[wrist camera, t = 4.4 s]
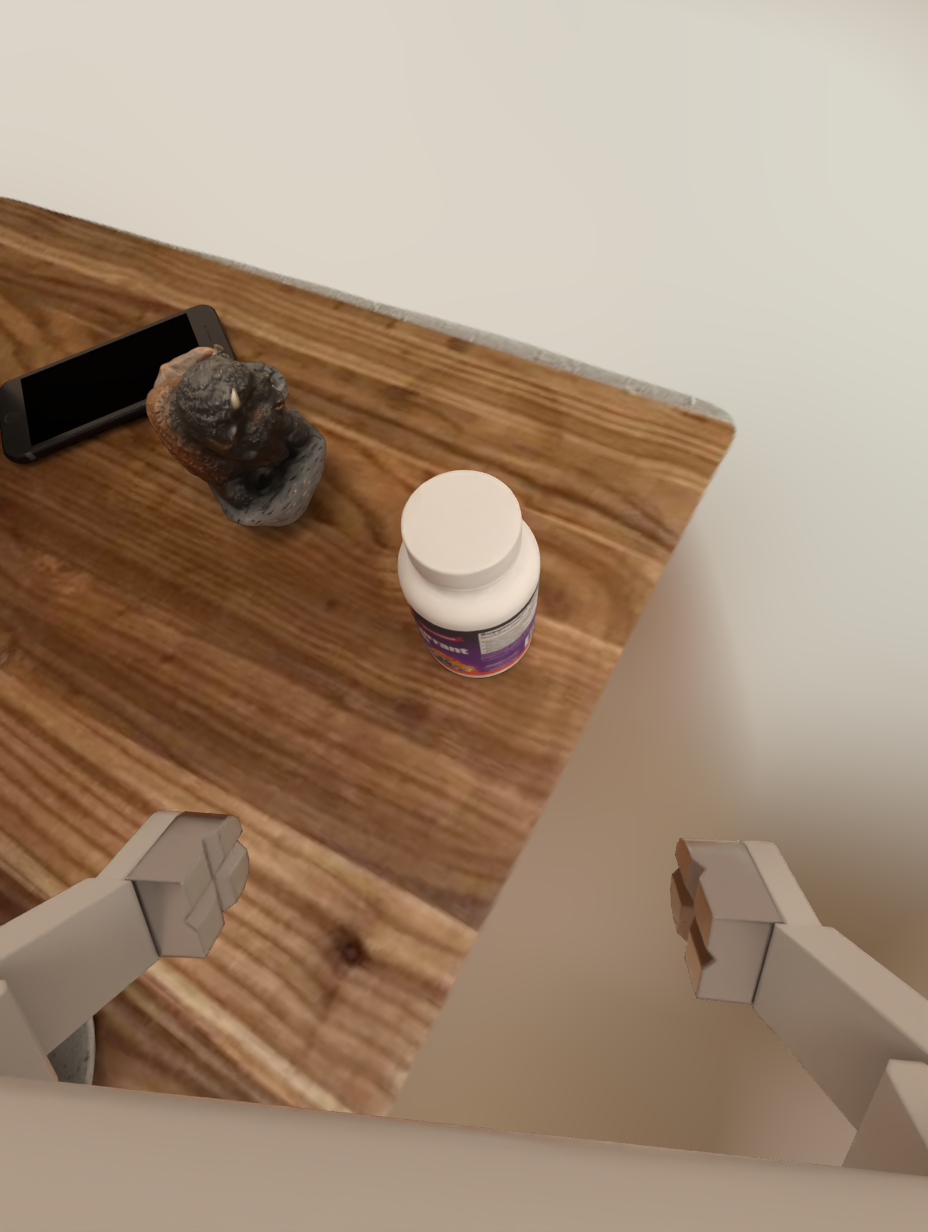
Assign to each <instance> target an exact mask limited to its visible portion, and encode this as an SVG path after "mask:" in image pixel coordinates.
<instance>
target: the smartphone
mask: <svg viewBox="0 0 928 1232" xmlns="http://www.w3.org/2000/svg"><path fill="white" fill-rule="evenodd" d="M214 344H217V345H220V346H222V347H223V348H224V351H223V352H222V353H225V354H228V355H229V356H230V357H231V359H233V360H235V361H237V360H236V357H235V354H234V352H233V350H232V347H231V345H230V343H229V340H228V338H227V336H226V333H225V331H224V329H223V327H222V324H221V322H220V320H219V317H218V315H217V313H216V311H215V310H214V309H213V308H212V307H211V306H209V305H197V306H195V307H192V308H189V309H187V310H184V311H182V312H179V313H177V314H174V315H172V316H169V317H167V318H164V319H162V320H159V321H157V322H154V323H152V324H149V325H147V326H144V327H142V328H139V329H137V330H134V331H132V332H129V333H127V334H124V335H122V336H119V337H117V338H114V339H112V340H109V341H107V342H104V343H102V344H99V345H97V346H94V347H92V348H89V349H87V350H84V351H82V352H79V353H77V354H74V355H72V356H69V357H67V358H64V359H62V360H59V361H57V362H54V363H52V364H49V365H47V366H44V367H42V368H39V369H37V370H34V371H32V372H29V373H27V374H24V375H22V376H19V377H17V378H15V379H12V380H10V381H8V382H6V383H5V384H3V385H2V386H1V388H0V430H1V437H2V445H3V450H4V454H5V456H6V457H7V458H8V459H9V460H11V461H13V462H15V463H26V462H29V461H32V460H34V459H37V458H39V457H42V456H44V455H47V454H49V453H51V452H54V451H56V450H59V449H61V448H63V447H66V446H68V445H71V444H73V443H76V442H78V441H80V440H83V439H85V438H88V437H90V436H92V435H95V434H97V433H100V432H102V431H104V430H107V429H109V428H112V427H114V426H116V425H119V424H121V423H124V422H126V421H128V420H131V419H133V418H136V417H138V416H140V415H143V414H145V413H147V411H146V399H147V395H148V393H149V392H150V391H151V390H152V389H154V384H155V381H156V379H157V377H158V374H159V371H160V367H161V366H162V365H163V364H166V363H169V362H170V361H172V360H173V359H174V358H176V357H178V356H181V355H183V354H186V353H188V352H190V351H191V350H193V349H195V348H197V347H209V348H213V349H214V346H213V345H214Z"/></svg>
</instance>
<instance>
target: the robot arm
mask: <svg viewBox="0 0 928 1232" xmlns="http://www.w3.org/2000/svg"><path fill="white" fill-rule="evenodd" d="M241 833H242V827H241V824H240V820H239V817H236V816H233V815H224V814H211V813H199V812H186V811H185V812H178V811H167V810H160V811H158V812H156V813H154V814H152V815H151V816H150V817H149V818H148V819H147V821H146V822H145V823H144V824H143V825H142V826H141V827H140V829H139V830H138V831H137V832H136V833H135V834H134V835H133V836H132V838H131V839H130V840H129V841H128V842H127V843H126V844H125V845H124V847H123V848H122V849H121V850H120V851H119V852H118V853H117V854H116V856H115V857H114V858H113V859H112V860H111V861H110V862H109V863H108V865H107V866H106V867H105V868H104V869H103V870H102V871H101V872H100V874H99V875H98V876H97V877H96V878H86V879H84V880H83V881H81V882H79V883H77V884H75V885H74V886H72V887H70V888H68V889H67V890H65V891H63V892H61V893H59V894H58V895H56V896H54V897H52V898H50V899H49V900H47V901H45V902H43V903H41V904H40V905H38V906H36V907H34V908H32V909H31V910H29V911H27V912H25V913H24V914H22V915H20V916H18V917H16V918H15V919H13V920H11V921H9V922H7V923H6V924H4V925H2V926H0V1232H928V1000H926V999H925V998H924V997H923V996H921V995H920V994H919V993H917V992H916V991H914V990H913V989H912V988H911V987H909V986H908V985H907V984H906V983H904V982H903V981H902V980H900V979H899V978H898V977H896V976H895V975H894V974H893V973H891V972H890V971H888V970H887V969H886V968H885V967H883V966H882V965H881V964H879V963H878V962H877V961H876V960H874V959H873V958H872V957H870V956H869V955H868V954H866V953H865V952H864V951H862V950H861V949H860V948H859V947H857V946H856V945H855V944H853V943H852V942H851V941H850V940H848V939H847V938H845V937H844V936H843V935H841V934H840V933H839V932H838V931H836V930H835V929H834V928H832V927H824V926H822V925H821V923H820V922H819V920H818V918H817V917H816V915H815V913H814V911H813V909H812V908H811V906H810V904H809V902H808V901H807V899H806V897H805V895H804V894H803V892H802V890H801V889H800V887H799V885H798V883H797V881H796V880H795V878H794V876H793V874H792V873H791V871H790V869H789V867H788V866H787V864H786V862H785V861H784V859H783V857H782V855H781V854H780V852H779V850H778V848H777V847H776V846H775V845H774V844H773V843H772V842H767V841H742V840H741V841H737V840H714V839H692V838H680V839H679V841H678V843H677V847H676V853H675V856H676V859H677V862H678V865H679V868H678V869H677V870H676V871H675V872H674V873H673V874H672V878H671V888H670V893H671V908H672V914H673V919H674V923H675V925H676V930H677V933H678V934H679V935H680V936H681V937H682V938H683V939H684V940H685V941H686V942H687V947H686V952H685V961H686V964H687V968H688V971H689V974H690V978H691V981H692V985H693V988H694V991H695V995H696V998H697V999H706V1000H715V1001H724V1002H733V1003H742V1004H751V1005H753V1007H752V1008H753V1009H754V1010H755V1011H756V1012H757V1014H758V1015H759V1016H760V1017H761V1018H762V1020H763V1021H764V1022H765V1023H766V1024H767V1025H768V1027H769V1028H770V1029H771V1030H772V1031H773V1033H774V1034H775V1035H776V1036H777V1037H778V1038H779V1039H780V1041H781V1042H782V1043H783V1044H784V1045H785V1047H786V1048H787V1049H788V1050H789V1051H790V1052H791V1054H792V1055H793V1056H794V1057H795V1058H796V1059H797V1061H798V1062H799V1063H800V1064H801V1065H802V1067H803V1068H804V1069H805V1070H806V1071H807V1072H808V1074H809V1075H810V1076H811V1077H812V1078H813V1079H814V1081H815V1082H816V1083H817V1084H818V1085H819V1086H820V1088H821V1089H822V1090H823V1091H824V1092H825V1094H826V1095H827V1096H828V1097H829V1098H830V1099H831V1101H832V1102H833V1103H834V1104H835V1105H836V1106H837V1107H838V1109H839V1110H840V1111H841V1112H842V1113H843V1115H844V1116H845V1117H846V1118H847V1119H848V1120H849V1121H850V1123H851V1124H852V1125H853V1126H854V1128H855V1129H856V1130H857V1133H856V1136H855V1138H854V1141H853V1143H852V1145H851V1147H850V1149H849V1151H848V1154H847V1156H846V1158H845V1160H844V1163H843V1165H842V1167H839V1166H828V1165H820V1164H811V1163H802V1162H793V1161H783V1160H774V1159H765V1158H756V1157H755V1158H754V1157H746V1156H738V1155H728V1154H719V1153H710V1152H701V1151H692V1150H682V1149H673V1148H664V1147H655V1146H646V1145H636V1144H627V1143H618V1142H609V1141H600V1140H591V1139H581V1138H573V1137H563V1136H554V1135H544V1134H536V1133H526V1132H517V1131H508V1130H499V1129H490V1128H482V1127H472V1126H463V1125H454V1124H445V1123H435V1122H426V1121H418V1120H408V1119H398V1118H390V1117H381V1116H371V1115H362V1114H353V1113H343V1112H334V1111H325V1110H316V1109H306V1108H297V1107H288V1106H279V1105H269V1104H260V1103H251V1102H242V1101H233V1100H223V1099H214V1098H205V1097H196V1096H187V1095H178V1094H168V1093H159V1092H150V1091H141V1090H132V1089H122V1088H113V1087H104V1086H95V1085H86V1084H77V1083H67V1082H58V1076H57V1075H56V1073H55V1071H54V1069H53V1067H52V1065H51V1063H50V1061H49V1060H48V1058H47V1055H48V1054H49V1053H50V1052H51V1051H52V1050H54V1049H55V1048H56V1047H57V1046H58V1045H59V1044H61V1043H62V1042H63V1041H64V1040H65V1039H66V1038H68V1037H69V1036H70V1035H71V1034H72V1033H73V1032H75V1031H76V1030H77V1029H78V1028H79V1027H80V1026H82V1025H83V1024H84V1023H85V1022H86V1021H87V1020H89V1019H90V1018H91V1017H92V1016H93V1015H94V1014H96V1013H97V1012H98V1011H99V1010H100V1009H101V1008H103V1007H104V1006H105V1005H106V1004H107V1003H109V1002H110V1001H111V1000H112V999H113V998H114V997H116V996H117V995H118V994H119V993H120V992H121V991H123V990H124V989H125V988H126V987H127V986H128V985H130V984H131V983H132V982H133V981H134V980H135V979H137V978H138V977H139V976H140V975H141V974H142V973H144V972H145V971H146V970H147V969H148V968H149V967H151V966H152V965H153V964H154V963H155V962H156V961H158V960H159V957H158V956H162V957H182V958H203V959H205V958H206V956H207V954H208V953H209V951H210V949H211V947H212V946H213V944H214V942H215V940H216V939H217V937H218V935H219V933H220V931H221V930H222V928H223V926H224V924H225V923H224V916H223V912H224V911H225V910H227V909H228V908H230V907H231V906H232V905H234V904H235V903H236V902H237V901H238V899H239V897H240V896H241V894H242V892H243V890H244V888H245V884H246V881H247V877H248V873H249V856H248V852H247V849H246V848H245V847H244V846H243V845H242V844H241V843H240V842H239V841H238V840H237V839H238V838H239V836H240V834H241Z"/></svg>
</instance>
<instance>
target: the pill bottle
mask: <svg viewBox="0 0 928 1232" xmlns="http://www.w3.org/2000/svg"><path fill="white" fill-rule="evenodd" d="M401 533H402V538H403V542H402V545H401V547H400V551H399V556H398V577H399V582H400V585H401V589H402V592H403V594H404V596H405V599H406V601H407V603H408V605H409V608H410V610H411V612H412V614H413V616H414V619H415V621H416V623H417V625H418V628H419V630H420V632H421V634H422V637H423V639H424V641H425V643H426V645H427V647H428V649H429V651H430V652H431V654H432V655H433V656H434V658H435V659H436V660H437V661H438V662H439V663H440V664H441V665H443V666H444V667H445V668H447V669H448V670H450V671H452V672H454V673H456V674H459V675H462V676H466V677H473V678H483V677H490V676H494V675H497V674H499V673H502V672H504V671H506V670H507V669H509V668H510V667H512V666H513V665H514V664H516V663H517V662H518V661H519V660H520V659H521V657H522V656H523V655H524V654H525V652H526V650H527V649H528V647H529V644H530V642H531V639H532V635H533V631H534V624H535V616H536V606H537V597H538V586H539V577H540V554H539V548H538V545H537V542H536V539H535V537H534V535H533V533H532V531H531V530H530V528H529V527H528V525H527V524H526V523H525V522H524V521H523V520H522V517H521V510H520V506H519V504H518V501H517V499H516V497H515V496H514V494H513V493H512V491H511V490H510V489H509V488H508V487H507V486H506V485H505V484H504V483H503V482H501V481H500V480H498V479H497V478H495V477H493V476H491V475H489V474H486V473H482V472H478V471H472V470H456V471H450V472H446V473H443V474H440V475H437V476H435V477H433V478H431V479H429V480H428V481H426V482H425V483H423V484H422V485H421V486H419V487H418V488H417V489H416V490H415V492H414V493H413V494H412V495H411V496H410V498H409V499H408V501H407V503H406V505H405V507H404V510H403V514H402V518H401Z"/></svg>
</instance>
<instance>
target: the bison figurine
mask: <svg viewBox="0 0 928 1232" xmlns="http://www.w3.org/2000/svg"><path fill="white" fill-rule="evenodd" d="M213 346H214V349H213V348H209V347H197V348H195V349H193V350H191V351H190V352H188V353H186V354H183V355H181V356H178V357H176V358H174V359H173V360H172V361H170V362H169V363H166V364H163V365H162V366H161V367H160V371H159V374H158V377H157V379H156V381H155V384H154V389H152V390H151V391H150V392H149V393H148V395H147V399H146V411H147V415H148V417H149V420H150V422H151V424H152V426H153V428H154V429H155V431H156V432H157V434H158V435H159V438H160V440H161V442H162V443H163V444H164V445H165V446H166V447H167V449H168V450H169V452H170V453H171V454H172V455H173V457H175V458H176V459H177V460H179V461H180V463H181V464H182V465H183V466H184V467H185V468H186V469H187V470H188V471H189V472H190V473H192V474H194V475H196V476H199V477H200V478H201V479H202V480H204V481H206V482H207V483H208V485H209V486H210V488H211V490H212V492H213V494H214V495H215V496H216V498H217V500H218V501H219V503H220V505H221V507H222V509H223V512H224V513H225V515H226V516H227V517H228V518H229V519H230V520H231V521H233V522H235V523H237V524H240V525H244V526H260V525H261V526H285V525H289V524H291V523H293V522H294V521H296V520H297V519H298V518H299V517H300V516H301V515H302V514H303V513H304V512H305V510H306V509H307V507H308V505H309V503H310V500H311V498H312V496H313V493H314V491H315V489H316V488H317V486H318V484H319V482H320V479H321V477H322V473H323V469H324V466H325V453H326V441H325V438H324V437H323V435H322V434H321V433H320V432H319V431H318V430H317V429H316V428H315V427H314V426H312V425H311V424H309V423H308V422H307V421H306V420H305V419H304V418H303V417H301V416H300V415H299V413H298V412H297V411H296V410H295V409H294V408H286V407H284V405H285V400H286V398H287V396H288V395H289V393H288V387H287V382H286V380H285V377H284V376H283V375H282V374H281V373H279V371H278V370H277V369H276V368H275V367H273V366H266V364H265V363H263V362H251V363H249V362H238V361H235V360H233V359H231V357H230V356H229V355H228V354H225V353H222V352H223V351H224V348H223V347H222V346H220V345H217V344H214V345H213Z"/></svg>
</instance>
